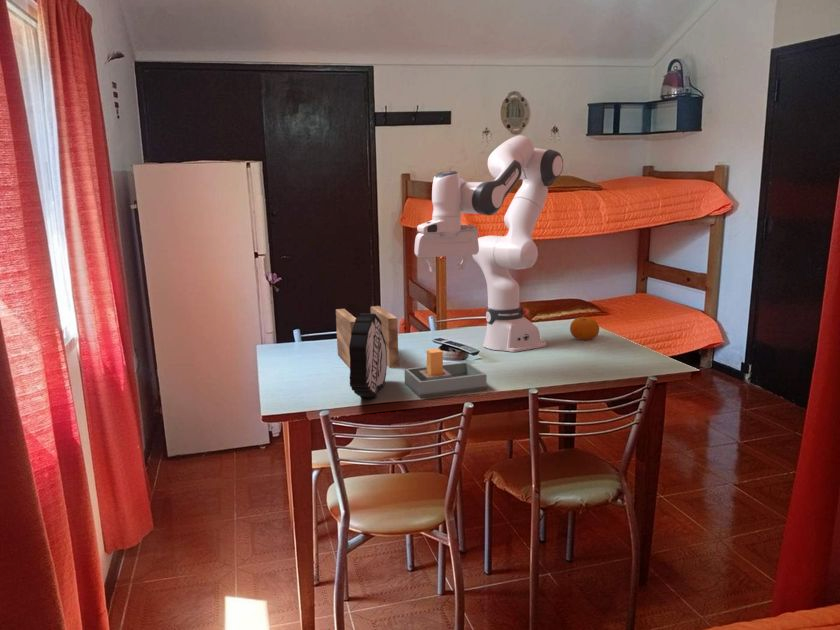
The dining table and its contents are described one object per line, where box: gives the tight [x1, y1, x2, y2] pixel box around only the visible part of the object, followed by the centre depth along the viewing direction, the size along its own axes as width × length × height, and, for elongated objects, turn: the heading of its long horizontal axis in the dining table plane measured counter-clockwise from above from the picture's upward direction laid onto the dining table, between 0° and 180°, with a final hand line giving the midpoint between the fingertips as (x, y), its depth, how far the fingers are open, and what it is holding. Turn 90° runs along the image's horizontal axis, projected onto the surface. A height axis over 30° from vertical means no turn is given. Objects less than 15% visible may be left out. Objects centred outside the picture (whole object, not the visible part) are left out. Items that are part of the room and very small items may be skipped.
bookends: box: [335, 305, 399, 369], centre depth 222 cm, size 15×22×16 cm
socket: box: [419, 369, 452, 381], centre depth 193 cm, size 7×7×4 cm
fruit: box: [569, 316, 600, 341], centre depth 246 cm, size 10×10×8 cm
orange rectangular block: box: [426, 348, 444, 376], centre depth 192 cm, size 4×4×10 cm
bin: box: [403, 361, 488, 399], centre depth 194 cm, size 20×14×4 cm
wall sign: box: [349, 312, 388, 399], centre depth 186 cm, size 22×4×30 cm
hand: (447, 270), depth 207 cm, fingers open, 8 cm apart
